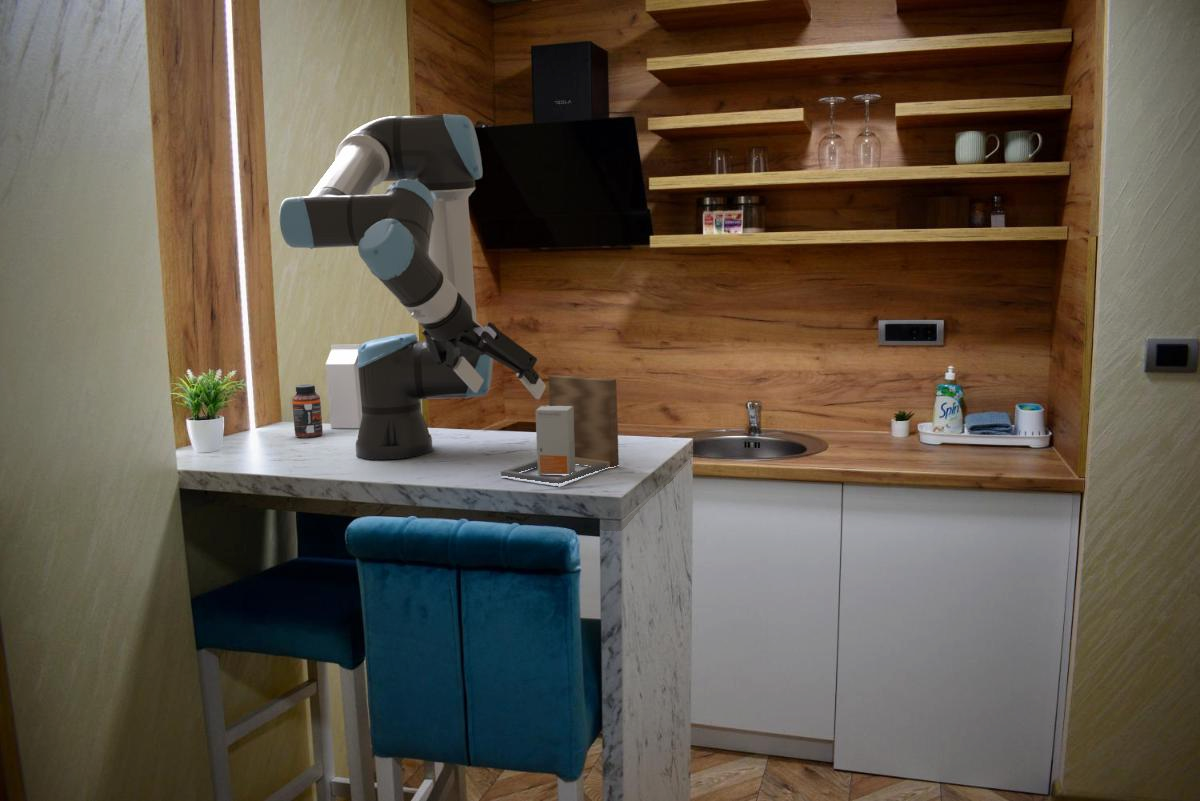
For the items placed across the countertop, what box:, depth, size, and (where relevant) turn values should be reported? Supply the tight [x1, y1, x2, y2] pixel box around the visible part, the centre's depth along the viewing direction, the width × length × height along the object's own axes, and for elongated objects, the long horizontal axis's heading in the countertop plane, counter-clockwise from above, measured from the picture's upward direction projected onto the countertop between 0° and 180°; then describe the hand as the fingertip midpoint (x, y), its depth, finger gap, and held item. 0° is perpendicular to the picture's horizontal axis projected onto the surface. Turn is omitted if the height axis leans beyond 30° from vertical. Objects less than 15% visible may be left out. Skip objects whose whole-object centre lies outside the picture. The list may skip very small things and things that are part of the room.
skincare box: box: [535, 405, 576, 475], centre depth 165 cm, size 6×4×12 cm
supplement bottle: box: [291, 384, 324, 439], centre depth 206 cm, size 6×6×11 cm
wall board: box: [547, 374, 620, 467], centre depth 172 cm, size 14×2×16 cm, turn 54°
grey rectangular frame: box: [500, 457, 610, 484], centre depth 167 cm, size 13×15×1 cm
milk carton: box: [325, 343, 362, 429], centre depth 215 cm, size 7×7×19 cm
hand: (509, 389), depth 155 cm, fingers open, 13 cm apart
